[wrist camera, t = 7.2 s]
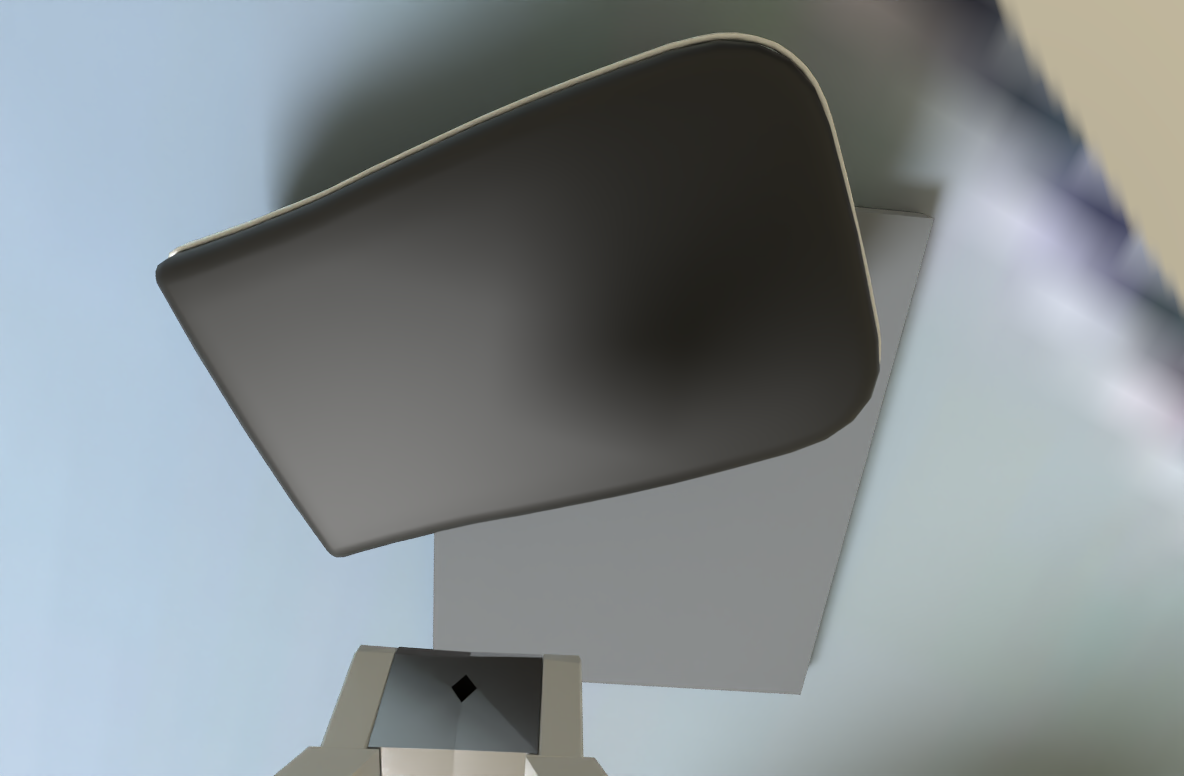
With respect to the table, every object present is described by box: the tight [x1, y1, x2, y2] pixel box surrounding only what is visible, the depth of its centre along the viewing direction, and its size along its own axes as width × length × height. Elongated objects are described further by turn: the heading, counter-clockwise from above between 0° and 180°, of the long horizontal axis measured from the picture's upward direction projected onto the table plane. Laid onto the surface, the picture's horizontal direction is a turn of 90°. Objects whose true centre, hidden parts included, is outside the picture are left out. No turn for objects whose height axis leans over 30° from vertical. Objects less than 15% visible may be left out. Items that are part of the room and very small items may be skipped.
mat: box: [433, 207, 934, 695], centre depth 18 cm, size 10×13×1 cm
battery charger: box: [156, 32, 881, 557], centre depth 14 cm, size 7×4×11 cm
